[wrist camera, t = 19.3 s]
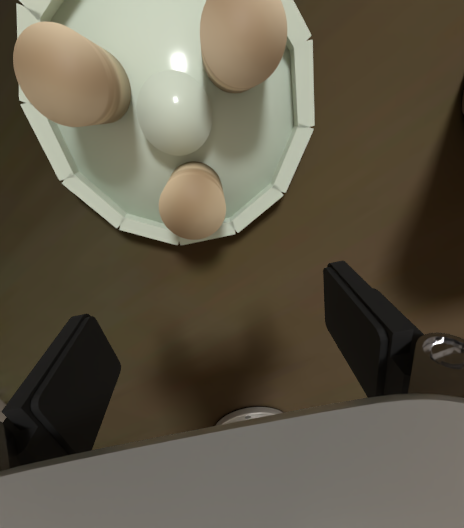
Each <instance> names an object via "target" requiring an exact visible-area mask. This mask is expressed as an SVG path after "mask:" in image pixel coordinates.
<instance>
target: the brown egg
mask: <svg viewBox="0 0 464 528" xmlns="http://www.w3.org/2000/svg"><path fill="white" fill-rule="evenodd" d="M159 213H160V216H161V219H162V221H163V223H164V224H165V226H166V227H167V228H168V229H169V230H170V231H171V232H172V233H174V234H175V235H177V236H179V237H182V238H185V239H190V240H198V239H203V238H206V237H208V236H210V235H212V234H213V233H215V232H216V231H217V230H218V229H219V228H220V226H221V225H222V223H223V221H224V219H225V215H226V203H225V198H224V193H223V188H222V183H221V180H220V178H219V176H218V174H217V173H216V172H215V170H214V169H212V168H211V167H210V166H208V165H207V164H204V163H201V162H196V161H192V162H187V163H184V164H182V165H180V166H178V167H177V168H176V169H175V170H174V171H173V173H172V174H171V176H170V178H169V180H168V182H167V184H166V185H165V187H164V189H163V191H162V193H161V195H160V199H159Z"/></svg>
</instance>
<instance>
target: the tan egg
mask: <svg viewBox="0 0 464 528" xmlns="http://www.w3.org/2000/svg"><path fill="white" fill-rule="evenodd" d="M13 63H14V70H15V74H16V77H17V80H18V83H19V85H20V87H21V89H22V91H23V93H24V95H25V96H26V98H27V99H28V100H29V102H30V103H31V104H32V105H33V106H34V107H35V108H36V109H37V110H38V111H39V112H40V113H41V114H42V115H43V116H45V117H46V118H48V119H49V120H51V121H53V122H55V123H58V124H60V125H63V126H68V127H83V126H91V125H99V124H108V123H113V122H115V121H117V120H119V119H121V118H122V117H123V116H124V115H125V113H126V112H127V110H128V108H129V105H130V101H131V86H130V82H129V78H128V76H127V74H126V72H125V70H124V68H123V66H122V65H121V63H120V62H119V61H118V60H117V59H116V58H115V57H114V56H113V55H112V54H111V53H109V52H108V51H106V50H105V49H103V48H102V47H100V46H98V45H97V44H95V43H93V42H92V41H90V40H89V39H87V38H85V37H84V36H82V35H80V34H79V33H77V32H76V31H74V30H72V29H71V28H69V27H67V26H65V25H62V24H59V23H55V22H46V21H44V22H38V23H35V24H32V25H30V26H28V27H27V28H26V29H25V30H23V32H22V33H21V34H20V35H19V37H18V39H17V41H16V44H15V47H14V53H13Z"/></svg>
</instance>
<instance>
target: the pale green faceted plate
mask: <svg viewBox="0 0 464 528" xmlns="http://www.w3.org/2000/svg"><path fill="white" fill-rule="evenodd" d="M19 1H20V2H21V3H22V4H23V5H24V6H25V7H24V6H22V5H19V4H17V38H18V37H19V35H20V34H21V33H22V32H23V30H25V29H26V28H27V27H28V26H30V25H32V24H35V23H38V22H44V21H46V22H55V23H59V24H62V25H65V26H67V27H69V28H71V29H72V30H74V31H76V32H77V33H79V34H80V35H82V36H84V37H85V38H87V39H89V40H90V41H92V42H93V43H95V44H97V45H98V46H100V47H102V48H103V49H105V50H106V51H108V52H109V53H111V54H112V55H113V56H114V57H115V58H116V59H117V60H118V61H119V62H120V63H121V65H122V66H123V68H124V70H125V72H126V74H127V76H128V78H129V82H130V86H131V101H130V105H129V108H128V110H127V112H126V113H125V115H124V116H123V117H122V118H121V119H119V120H117V121H115V122H113V123H108V124H99V125H91V126H83V127H68V126H63V125H60V124H58V123H55V122H53V121H51V120H49V119H48V118H46V117H45V116H43V115H42V114H41V113H40V112H39V111H38V110H37V109H36V108H35V107H34V106H33V105H32V104H31V103H30V102H29V100H28V99H27V98H26V96H25V95H24V93H23V91H22V89H21V87H20V85H19V100H20V101H23V102H26V103H25V104H21V107H22V109H23V111H24V113H25V114H26V116H27V118H28V120H29V122H30V124H31V126H32V128H33V130H34V132H35V134H36V136H37V138H38V140H39V142H40V144H41V146H42V148H43V150H44V151H45V153H46V155H47V157H48V159H49V161H50V163H51V165H52V167H53V169H54V171H55V173H56V175H57V177H58V179H59V180H64V179H65V180H64V181H63V182H62V184H63V185H64V186H66V187H67V188H68V189H69V190H70V191H72V192H73V193H74V194H75V195H77V196H78V197H79V198H80V199H81V200H83V201H84V202H85V203H86V204H87V205H89V206H90V207H91V208H92V209H94V210H95V211H96V212H97V213H98V214H100V215H101V216H102V217H103V218H104V219H106V220H107V221H108V222H109V223H111V224H112V225H113V226H114V227H115V228H118V227H119V226H120V229H119V230H122V231H125V232H129V233H133V234H137V235H140V236H144V237H148V238H152V239H155V240H159V241H163V242H167V243H170V244H174V245H178V243H179V242H180V245H186V244H191V243H196V242H200V241H205V240H210V239H215V238H220V237H224V236H229V235H234V234H235V230H236V231H237V233H239V232H240V231H241V230H242V229H244V228H245V227H246V226H247V225H248V224H250V223H251V222H252V221H253V220H254V219H256V218H257V217H258V216H259V215H261V214H262V213H263V212H264V211H265V210H267V209H268V208H269V207H270V206H271V205H273V204H274V203H275V202H276V201H278V200H279V199H280V198H281V197H282V196H284V195H283V194H282V193H281V192H284V193H286V191H287V189H288V186H289V184H290V182H291V180H292V177H293V175H294V173H295V171H296V168H297V166H298V164H299V162H300V159H301V157H302V155H303V152H304V150H305V148H306V146H307V143H308V141H309V139H310V137H311V134H312V132H313V130H314V129H312V128H310V127H311V126H315V124H314V80H313V40H309V41H306V40H307V39H308V38H309V37H310V36H311V33H310V31H309V30H308V28H307V26H306V24H305V22H304V20H303V18H302V16H301V14H300V12H299V10H298V8H297V6H296V5H295V3H294V1H293V0H281V2H282V4H283V7H284V10H285V14H286V19H287V42H286V47H285V50H284V54H283V56H282V59H281V61H280V63H279V65H278V67H277V68H276V70H275V71H274V72H273V73H272V75H271V76H270V77H269V78H267V79H266V80H265V81H264V82H262V83H260V84H259V85H257V86H255V87H253V88H251V89H249V90H247V91H245V92H242V93H228V92H225V91H223V90H221V89H219V88H218V87H216V86H215V85H214V84H213V83H212V81H211V80H210V79H209V77H208V75H207V73H206V71H205V69H204V66H203V62H202V55H201V43H200V21H201V15H202V11H203V7H204V5H205V2H206V0H19ZM192 161H196V162H201V163H204V164H207V165H208V166H210V167H211V168H212V169H214V170H215V172H216V173H217V174H218V176H219V178H220V180H221V183H222V188H223V193H224V198H225V203H226V215H225V219H224V221H223V223H222V225H221V226H220V228H219V229H218V230H217V231H216V232H215V233H213V234H212V235H210V236H208V237H206V238H203V239H198V240H190V239H185V238H182V237H179V236H177V235H175V234H174V233H172V232H171V231H170V230H169V229H168V228H167V227H166V226H165V224H164V223H163V221H162V219H161V216H160V213H159V199H160V195H161V193H162V191H163V189H164V187H165V185H166V184H167V182H168V180H169V178H170V176H171V174H172V173H173V171H174V170H175V169H176V168H177V167H178V166H180V165H182V164H184V163H187V162H192Z"/></svg>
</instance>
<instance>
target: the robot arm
mask: <svg viewBox="0 0 464 528" xmlns="http://www.w3.org/2000/svg"><path fill="white" fill-rule="evenodd" d="M323 275H324V302H325V322H326V326H327V329H328V331H329V332H330V334H331V336H332V337H333V339H334V341H335V343H336V344H337V346H338V348H339V349H340V351H341V353H342V354H343V356H344V358H345V359H346V361H347V363H348V364H349V366H350V368H351V370H352V371H353V373H354V375H355V376H356V378H357V380H358V381H359V383H360V385H361V386H362V388H363V390H364V392H365V393H366V395H367V397H368V398H363V399H357V400H351V401H346V402H340V403H334V404H328V405H322V406H317V407H311V408H306V409H301V410H296V411H290V412H285V413H283V412H281V411H279V410H277V409H273V408H269V407H250V408H244V409H240V410H237V411H234V412H232V413H230V414H228V415H226V416H225V417H223V418H222V419H221V420H220V421H219V422H218V423H217V424H216V425H215V426H212V427H207V428H202V429H197V430H192V431H187V432H182V433H177V434H171V435H166V436H161V437H156V438H151V439H146V440H141V441H136V442H131V443H126V444H121V445H116V446H111V447H107V448H102V449H97V450H92V448H93V445H94V442H95V439H96V437H97V434H98V431H99V428H100V426H101V423H102V420H103V418H104V415H105V412H106V409H107V407H108V404H109V401H110V398H111V396H112V393H113V390H114V388H115V385H116V382H117V379H118V377H119V374H120V371H121V365H120V362H119V360H118V358H117V356H116V354H115V353H114V351H113V349H112V347H111V345H110V344H109V342H108V340H107V338H106V336H105V335H104V333H103V331H102V329H101V327H100V326H99V324H98V322H97V320H96V319H95V317H93V316H90V315H89V314H83V315H78V316H74V317H71V318H70V319H69V321H68V322H67V323H66V325H65V326H64V327H63V329H62V330H61V332H60V333H59V334H58V336H57V337H56V338H55V340H54V341H53V342H52V344H51V345H50V346H49V348H48V349H47V351H46V352H45V353H44V355H43V356H42V357H41V359H40V360H39V361H38V363H37V364H36V366H35V367H34V368H33V370H32V371H31V372H30V374H29V375H28V376H27V378H26V379H25V380H24V382H23V383H22V385H21V386H20V387H19V389H18V390H17V391H16V393H15V394H14V395H13V397H12V398H11V399H10V401H9V402H8V404H7V405H6V406H5V408H4V409H3V410H2V413H3V414H4V415H5V416H6V417H7V418H6V419H5V420H4V422H3V423H2V422H0V528H464V339H462V338H460V337H457V336H453V335H450V334H445V333H429V334H425V335H424V334H423V333H422V332H421V331H420V330H419V329H418V328H417V327H416V326H414V325H413V324H412V323H411V322H410V321H409V320H408V319H407V318H406V317H405V316H404V315H403V314H402V313H401V312H400V311H399V310H398V309H397V308H396V307H395V306H394V305H393V304H392V303H390V302H389V301H388V300H387V299H386V298H385V297H384V296H383V295H382V294H381V293H380V292H379V291H378V290H376V289H373V288H371V287H370V286H369V285H368V284H367V283H366V282H365V281H364V280H363V279H362V278H361V277H360V276H359V275H358V274H357V273H356V272H355V271H354V270H353V269H352V268H351V267H350V266H349V265H348V264H347V263H346V262H345V261H339V262H334V263H329V264H328V266H327V268H324V270H323ZM91 450H92V451H91Z"/></svg>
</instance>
